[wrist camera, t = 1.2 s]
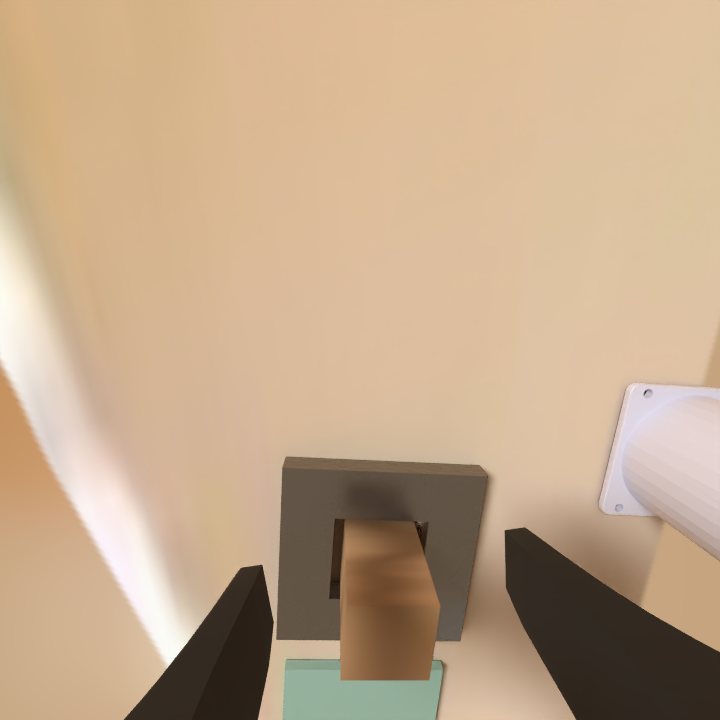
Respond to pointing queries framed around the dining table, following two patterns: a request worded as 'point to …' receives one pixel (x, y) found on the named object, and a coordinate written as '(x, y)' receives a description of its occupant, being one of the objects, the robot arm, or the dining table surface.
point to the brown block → (385, 603)
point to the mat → (355, 694)
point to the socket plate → (373, 502)
